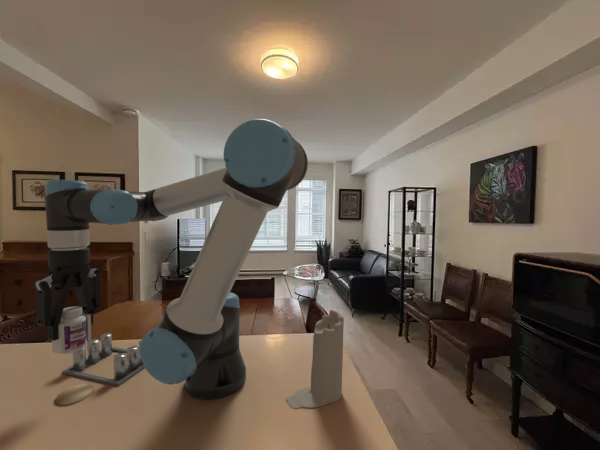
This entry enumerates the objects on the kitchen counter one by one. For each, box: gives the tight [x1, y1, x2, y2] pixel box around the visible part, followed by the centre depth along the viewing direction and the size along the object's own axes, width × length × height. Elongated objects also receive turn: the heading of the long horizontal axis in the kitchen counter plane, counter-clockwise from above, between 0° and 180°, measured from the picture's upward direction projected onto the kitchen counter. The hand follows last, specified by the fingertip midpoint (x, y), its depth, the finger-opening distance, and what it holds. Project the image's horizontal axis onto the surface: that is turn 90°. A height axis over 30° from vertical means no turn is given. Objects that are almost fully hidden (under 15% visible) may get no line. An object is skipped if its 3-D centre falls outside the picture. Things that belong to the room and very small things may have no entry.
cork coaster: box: [55, 383, 94, 406], centre depth 67 cm, size 7×7×1 cm
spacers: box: [72, 332, 143, 381], centre depth 79 cm, size 17×11×6 cm, turn 75°
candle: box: [285, 309, 345, 409], centre depth 67 cm, size 7×14×20 cm, turn 113°
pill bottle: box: [60, 305, 88, 355], centre depth 66 cm, size 5×5×10 cm
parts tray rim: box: [61, 346, 145, 387], centre depth 80 cm, size 19×14×1 cm
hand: (72, 345), depth 66 cm, fingers closed on pill bottle, 5 cm apart
